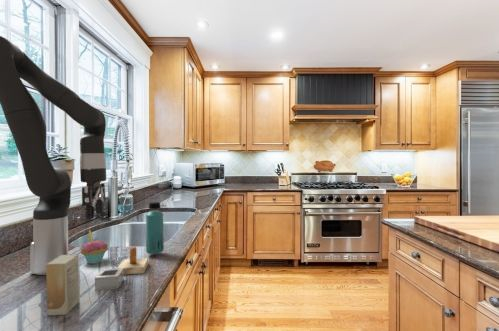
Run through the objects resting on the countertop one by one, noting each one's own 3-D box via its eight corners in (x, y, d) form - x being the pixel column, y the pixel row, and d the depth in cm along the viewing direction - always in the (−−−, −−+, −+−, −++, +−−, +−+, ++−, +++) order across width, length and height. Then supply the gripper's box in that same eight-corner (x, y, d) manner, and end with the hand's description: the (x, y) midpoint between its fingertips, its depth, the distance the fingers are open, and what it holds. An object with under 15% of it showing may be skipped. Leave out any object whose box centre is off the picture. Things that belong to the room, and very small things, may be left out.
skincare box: (61, 302, 71) (61, 254, 71) (79, 301, 71) (79, 253, 71) (45, 316, 65) (45, 263, 64) (65, 315, 65) (65, 263, 65)
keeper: (116, 274, 88) (116, 252, 88) (123, 265, 96) (123, 244, 96) (143, 273, 89) (143, 251, 89) (147, 263, 97) (147, 243, 97)
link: (94, 290, 78) (94, 277, 77) (102, 281, 83) (102, 269, 83) (118, 288, 79) (118, 276, 79) (123, 279, 84) (123, 268, 84)
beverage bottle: (158, 258, 102) (158, 203, 102) (141, 257, 104) (141, 203, 103) (167, 252, 109) (167, 201, 108) (151, 251, 110) (151, 200, 110)
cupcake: (93, 267, 94) (92, 231, 94) (74, 263, 97) (74, 229, 97) (113, 258, 102) (113, 225, 102) (96, 255, 105) (95, 223, 105)
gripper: (89, 167, 100) (91, 212, 100) (71, 168, 86) (73, 221, 86) (111, 166, 101) (113, 211, 102) (98, 167, 87) (100, 219, 88)
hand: (95, 215), depth 94 cm, fingers open, 8 cm apart
